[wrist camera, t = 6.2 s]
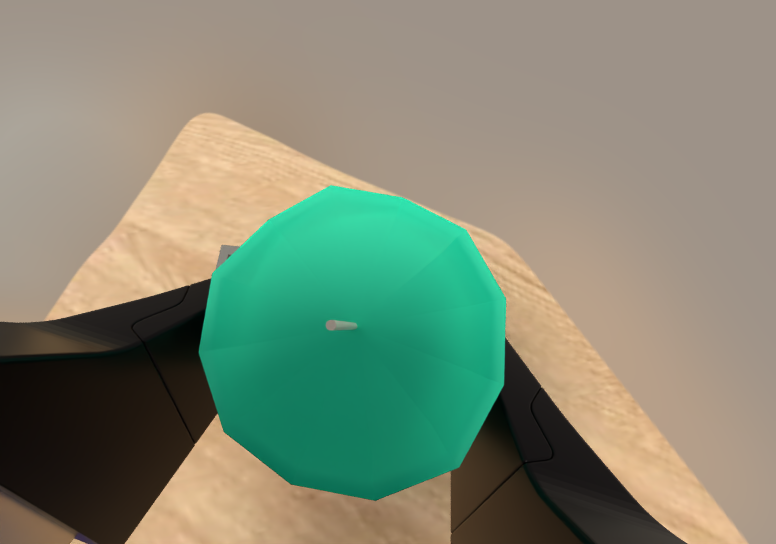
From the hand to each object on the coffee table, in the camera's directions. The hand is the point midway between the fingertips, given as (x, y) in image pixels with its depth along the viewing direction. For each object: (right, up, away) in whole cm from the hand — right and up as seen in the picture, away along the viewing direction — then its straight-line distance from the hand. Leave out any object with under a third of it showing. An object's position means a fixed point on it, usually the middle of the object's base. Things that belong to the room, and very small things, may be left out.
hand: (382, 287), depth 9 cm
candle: (0, -3, +6) cm, 7 cm away
